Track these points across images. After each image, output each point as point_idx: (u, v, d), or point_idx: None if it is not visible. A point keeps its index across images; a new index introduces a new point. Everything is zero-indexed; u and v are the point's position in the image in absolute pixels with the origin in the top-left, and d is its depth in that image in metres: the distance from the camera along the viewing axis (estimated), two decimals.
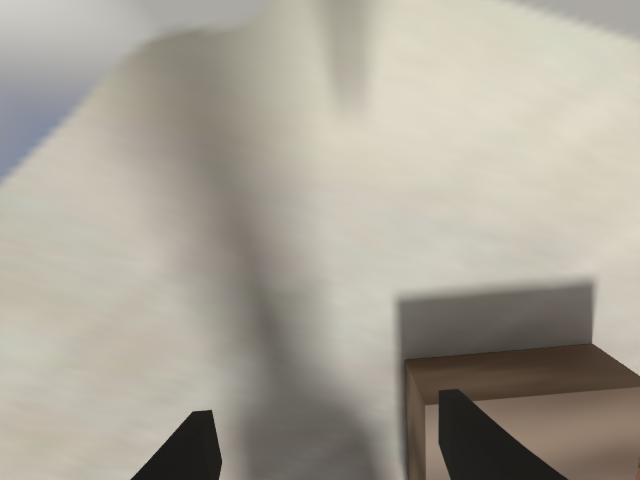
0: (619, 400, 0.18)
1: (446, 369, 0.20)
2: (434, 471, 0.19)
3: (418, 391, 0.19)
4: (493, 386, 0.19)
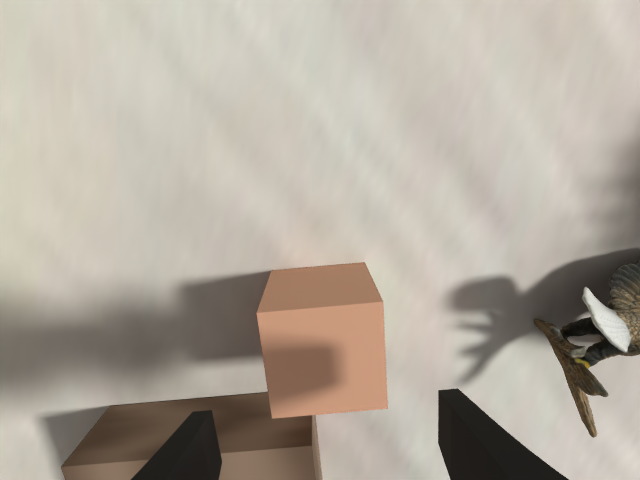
0: None
1: None
2: None
3: None
4: None
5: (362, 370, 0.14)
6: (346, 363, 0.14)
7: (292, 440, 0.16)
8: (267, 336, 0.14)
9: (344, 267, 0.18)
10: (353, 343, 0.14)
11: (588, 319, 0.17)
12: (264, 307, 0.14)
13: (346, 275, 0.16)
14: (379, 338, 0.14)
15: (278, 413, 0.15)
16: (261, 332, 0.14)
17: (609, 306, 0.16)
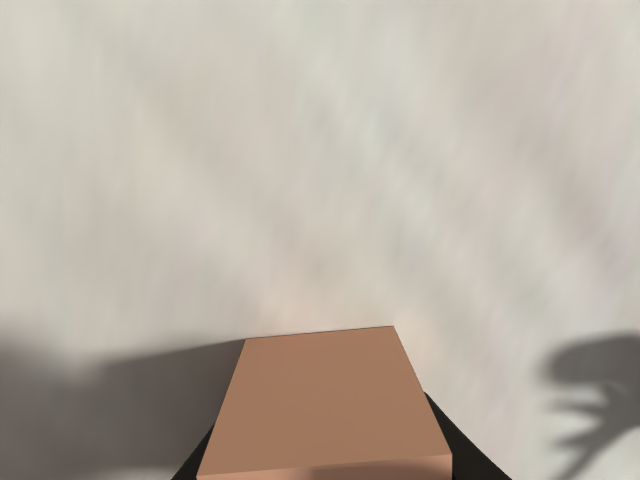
0: None
1: None
2: None
3: None
4: None
5: None
6: None
7: None
8: None
9: (362, 338, 0.11)
10: None
11: None
12: (215, 455, 0.07)
13: (368, 360, 0.10)
14: None
15: None
16: None
17: None
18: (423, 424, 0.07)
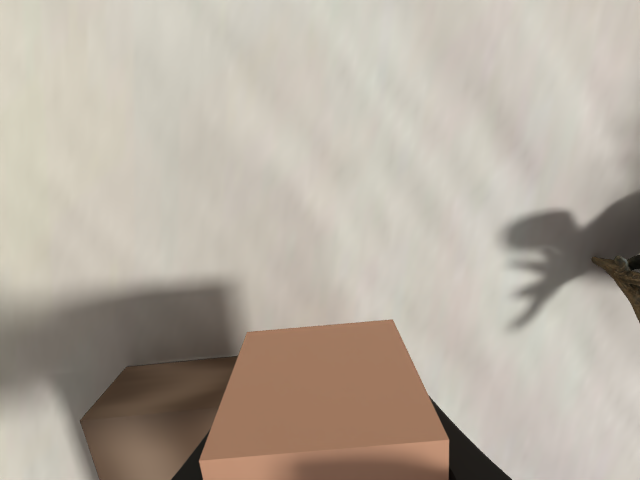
0: (104, 449, 0.16)
1: None
2: None
3: None
4: None
5: None
6: None
7: None
8: None
9: (362, 331, 0.11)
10: None
11: None
12: (217, 441, 0.07)
13: (367, 352, 0.10)
14: None
15: None
16: None
17: None
18: (421, 411, 0.07)
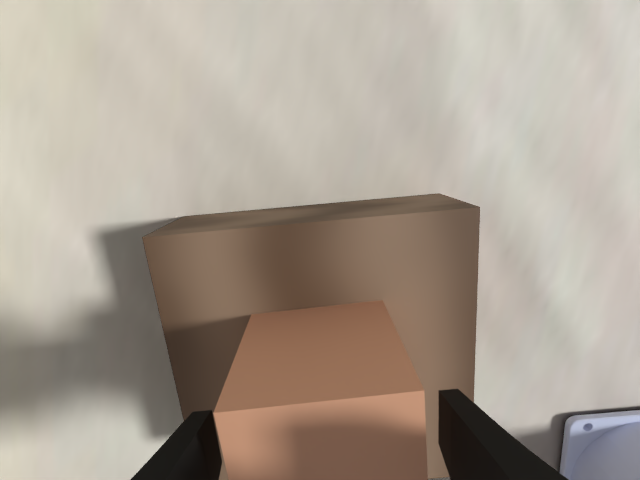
0: (171, 280, 0.12)
1: None
2: None
3: None
4: None
5: None
6: None
7: (448, 207, 0.12)
8: (233, 448, 0.08)
9: (354, 310, 0.12)
10: (374, 455, 0.08)
11: None
12: (228, 398, 0.08)
13: (358, 327, 0.11)
14: (418, 446, 0.08)
15: None
16: (223, 442, 0.08)
17: None
18: (402, 370, 0.09)
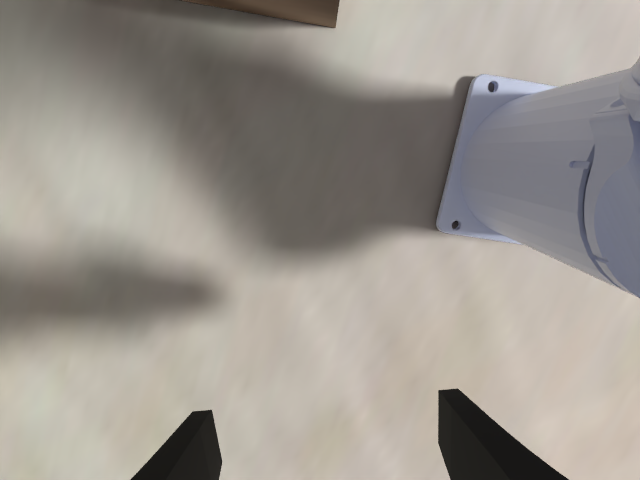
0: None
1: None
2: None
3: None
4: None
5: None
6: None
7: None
8: None
9: None
10: None
11: None
12: None
13: None
14: None
15: None
16: None
17: None
18: None
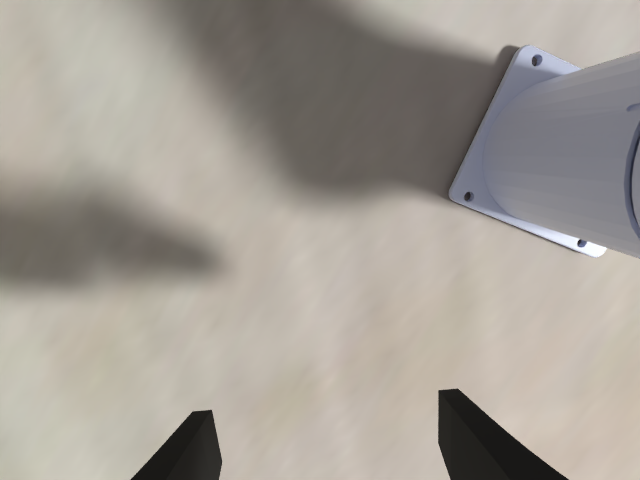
0: None
1: None
2: None
3: None
4: None
5: None
6: None
7: None
8: None
9: None
10: None
11: None
12: None
13: None
14: None
15: None
16: None
17: None
18: None
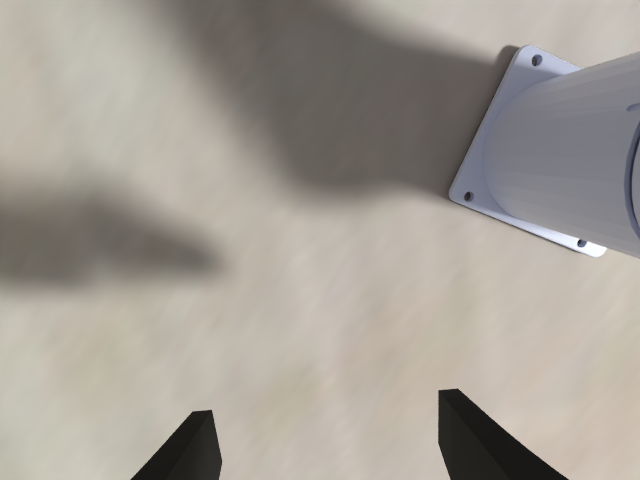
0: None
1: None
2: None
3: None
4: None
5: None
6: None
7: None
8: None
9: None
10: None
11: None
12: None
13: None
14: None
15: None
16: None
17: None
18: None
